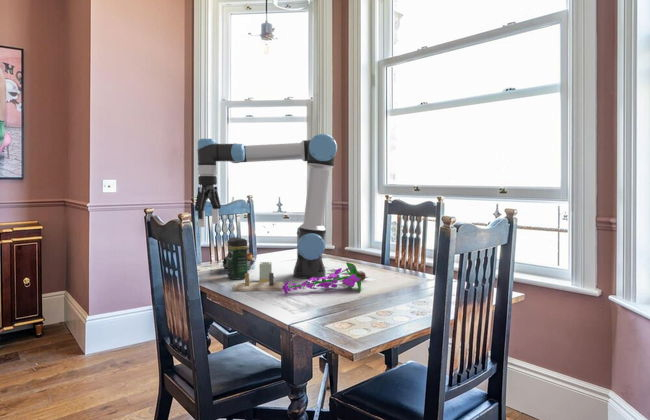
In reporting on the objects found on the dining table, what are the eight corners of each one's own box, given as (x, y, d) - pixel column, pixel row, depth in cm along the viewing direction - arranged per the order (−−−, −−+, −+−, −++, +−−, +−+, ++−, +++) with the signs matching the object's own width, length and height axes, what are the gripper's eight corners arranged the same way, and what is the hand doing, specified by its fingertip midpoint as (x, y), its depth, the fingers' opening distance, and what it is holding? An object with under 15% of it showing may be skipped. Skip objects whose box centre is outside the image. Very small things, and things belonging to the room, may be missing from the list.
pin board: (283, 284, 182) (283, 270, 182) (283, 290, 172) (283, 275, 172) (236, 285, 180) (236, 271, 180) (233, 291, 170) (233, 276, 170)
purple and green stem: (369, 299, 174) (288, 315, 162) (354, 272, 187) (276, 285, 175) (375, 277, 168) (290, 292, 155) (358, 251, 180) (278, 262, 168)
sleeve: (271, 279, 191) (271, 261, 190) (271, 282, 186) (271, 264, 186) (260, 279, 191) (260, 262, 190) (259, 282, 186) (259, 264, 185)
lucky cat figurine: (252, 267, 218) (259, 245, 212) (249, 281, 207) (257, 258, 202) (223, 259, 215) (230, 237, 210) (219, 273, 205) (226, 250, 199)
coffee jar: (250, 278, 192) (250, 238, 191) (234, 280, 188) (233, 239, 187) (241, 274, 200) (241, 235, 199) (225, 276, 196) (225, 236, 195)
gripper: (211, 175, 193) (213, 222, 195) (184, 175, 169) (186, 228, 170) (227, 175, 192) (228, 222, 193) (202, 175, 167) (203, 228, 169)
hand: (208, 225), depth 182 cm, fingers open, 13 cm apart
